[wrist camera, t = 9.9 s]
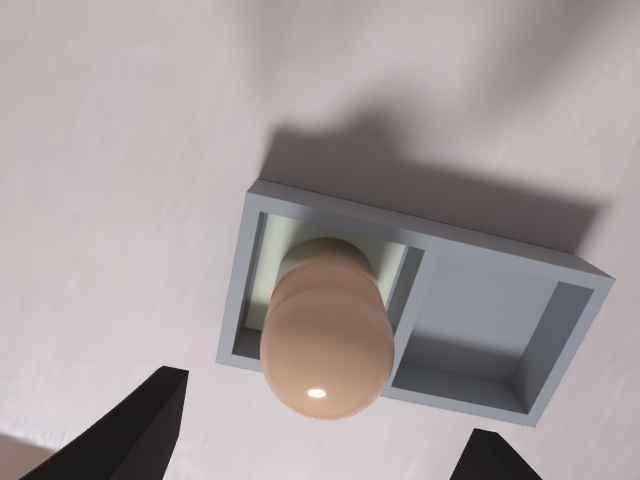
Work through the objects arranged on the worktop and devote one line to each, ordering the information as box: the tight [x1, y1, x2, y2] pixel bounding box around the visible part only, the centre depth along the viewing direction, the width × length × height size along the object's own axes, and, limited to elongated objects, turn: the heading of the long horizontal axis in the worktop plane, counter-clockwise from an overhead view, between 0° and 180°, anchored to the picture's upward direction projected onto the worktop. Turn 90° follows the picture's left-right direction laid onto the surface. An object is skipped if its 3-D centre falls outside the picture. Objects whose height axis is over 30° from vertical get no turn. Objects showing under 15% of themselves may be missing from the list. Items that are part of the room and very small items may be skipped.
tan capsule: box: [260, 237, 395, 421], centre depth 14 cm, size 4×4×7 cm
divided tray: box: [215, 179, 616, 428], centre depth 17 cm, size 15×8×3 cm, turn 76°
